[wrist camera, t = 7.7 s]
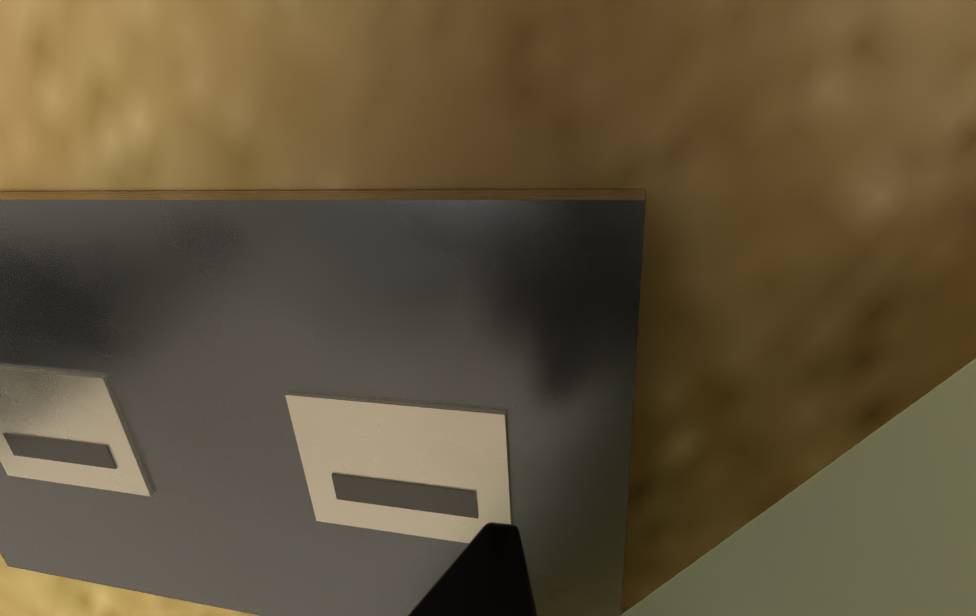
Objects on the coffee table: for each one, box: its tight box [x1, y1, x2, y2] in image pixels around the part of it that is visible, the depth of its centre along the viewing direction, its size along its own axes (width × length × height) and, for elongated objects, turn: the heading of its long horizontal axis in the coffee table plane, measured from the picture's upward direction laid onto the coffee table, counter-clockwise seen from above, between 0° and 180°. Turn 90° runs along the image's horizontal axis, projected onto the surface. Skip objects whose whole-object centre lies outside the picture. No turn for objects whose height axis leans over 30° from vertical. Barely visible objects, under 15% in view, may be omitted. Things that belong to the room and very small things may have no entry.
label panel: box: [0, 189, 645, 616], centre depth 12 cm, size 16×15×2 cm
